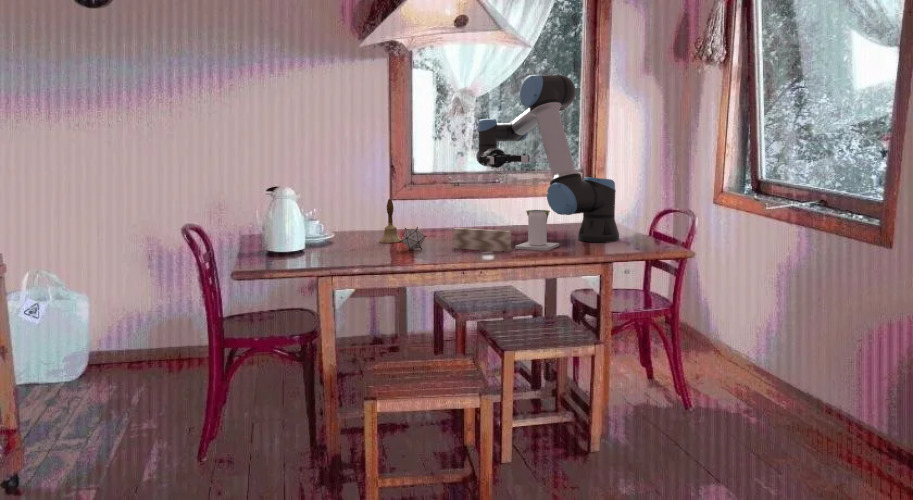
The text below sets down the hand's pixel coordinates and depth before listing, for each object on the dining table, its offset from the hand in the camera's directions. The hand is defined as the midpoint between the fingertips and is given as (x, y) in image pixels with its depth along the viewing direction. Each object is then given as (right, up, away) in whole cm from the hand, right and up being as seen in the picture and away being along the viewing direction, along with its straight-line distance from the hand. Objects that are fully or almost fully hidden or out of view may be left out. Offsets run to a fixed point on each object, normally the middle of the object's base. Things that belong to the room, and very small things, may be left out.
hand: (510, 160), depth 322 cm
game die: (-35, -34, -21) cm, 53 cm away
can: (+8, -32, -19) cm, 38 cm away
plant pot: (+12, -27, +18) cm, 35 cm away
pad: (+8, -33, -19) cm, 39 cm away
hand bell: (-45, -31, 0) cm, 55 cm away
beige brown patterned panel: (-11, -34, -22) cm, 42 cm away
